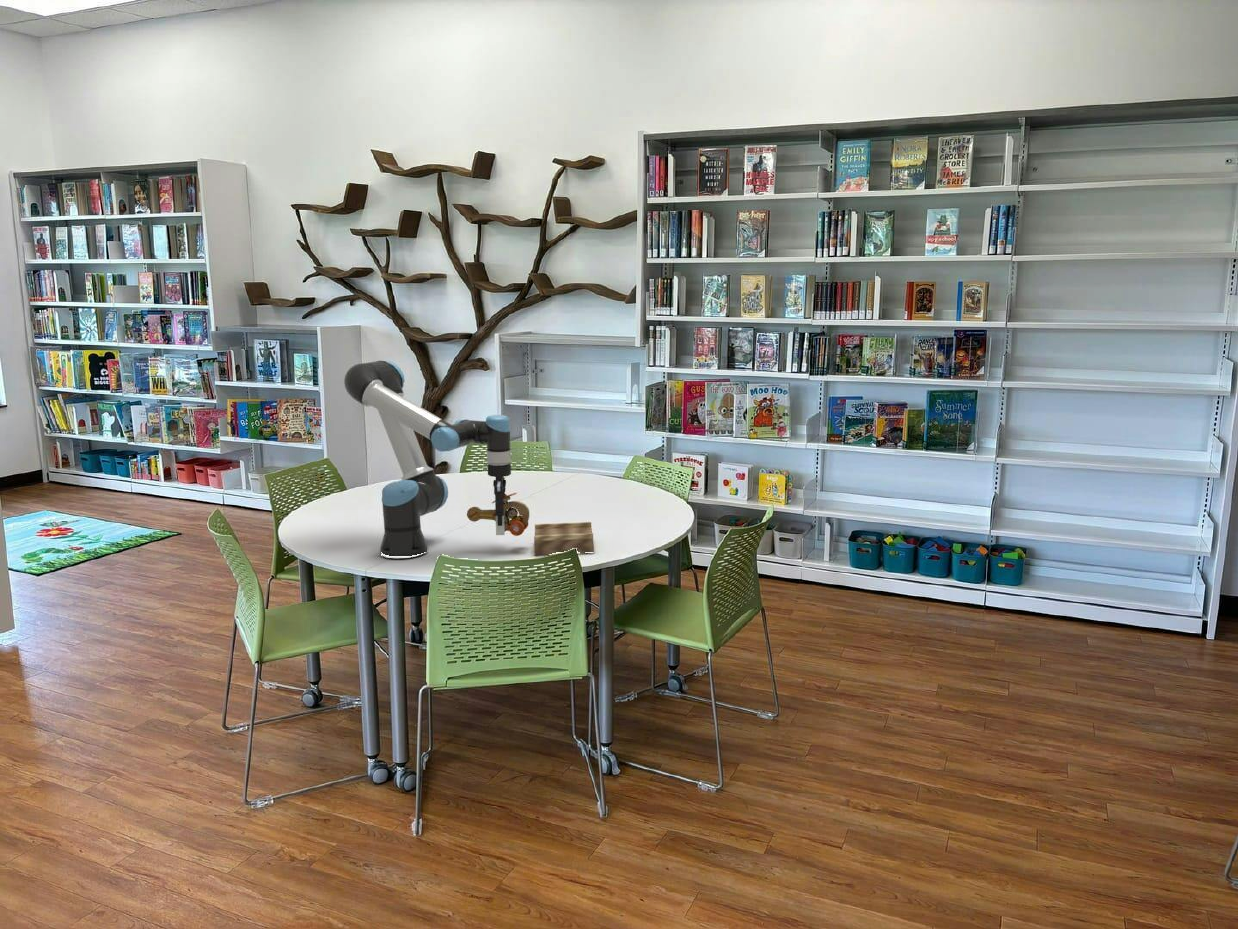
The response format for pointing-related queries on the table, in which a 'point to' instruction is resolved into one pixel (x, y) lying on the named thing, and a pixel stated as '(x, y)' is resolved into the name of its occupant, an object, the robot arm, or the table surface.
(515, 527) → the toy helicopter
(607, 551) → the table surface
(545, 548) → the display stand
